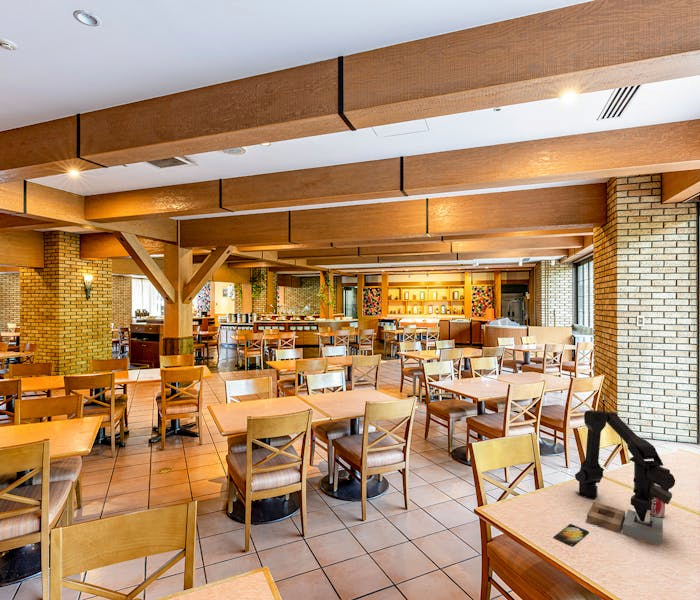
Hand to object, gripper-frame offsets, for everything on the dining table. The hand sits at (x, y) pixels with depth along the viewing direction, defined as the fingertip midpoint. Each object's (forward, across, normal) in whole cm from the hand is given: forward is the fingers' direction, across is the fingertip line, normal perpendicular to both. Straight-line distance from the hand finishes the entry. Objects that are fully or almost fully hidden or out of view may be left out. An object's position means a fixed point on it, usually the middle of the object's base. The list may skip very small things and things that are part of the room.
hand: (643, 517), depth 150 cm
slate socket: (+6, 0, 0) cm, 6 cm away
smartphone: (+6, -21, +20) cm, 30 cm away
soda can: (+6, +19, -2) cm, 20 cm away
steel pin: (+6, 0, 0) cm, 6 cm away
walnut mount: (+6, 0, +12) cm, 13 cm away
